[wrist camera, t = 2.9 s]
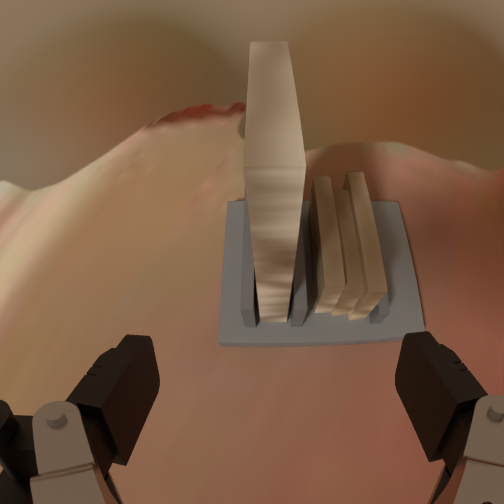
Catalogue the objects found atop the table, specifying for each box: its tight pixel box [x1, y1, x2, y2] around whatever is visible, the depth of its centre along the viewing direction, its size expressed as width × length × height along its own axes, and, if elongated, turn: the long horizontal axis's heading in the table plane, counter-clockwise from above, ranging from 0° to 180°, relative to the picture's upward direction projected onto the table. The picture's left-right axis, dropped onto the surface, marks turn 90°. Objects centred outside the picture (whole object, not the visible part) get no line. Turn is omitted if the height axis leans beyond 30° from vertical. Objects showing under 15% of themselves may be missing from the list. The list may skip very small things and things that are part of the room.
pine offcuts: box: [308, 171, 387, 320], centre depth 29 cm, size 5×12×7 cm, turn 179°
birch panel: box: [243, 41, 306, 322], centre depth 24 cm, size 2×12×20 cm, turn 179°
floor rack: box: [218, 186, 425, 347], centre depth 31 cm, size 20×16×6 cm
